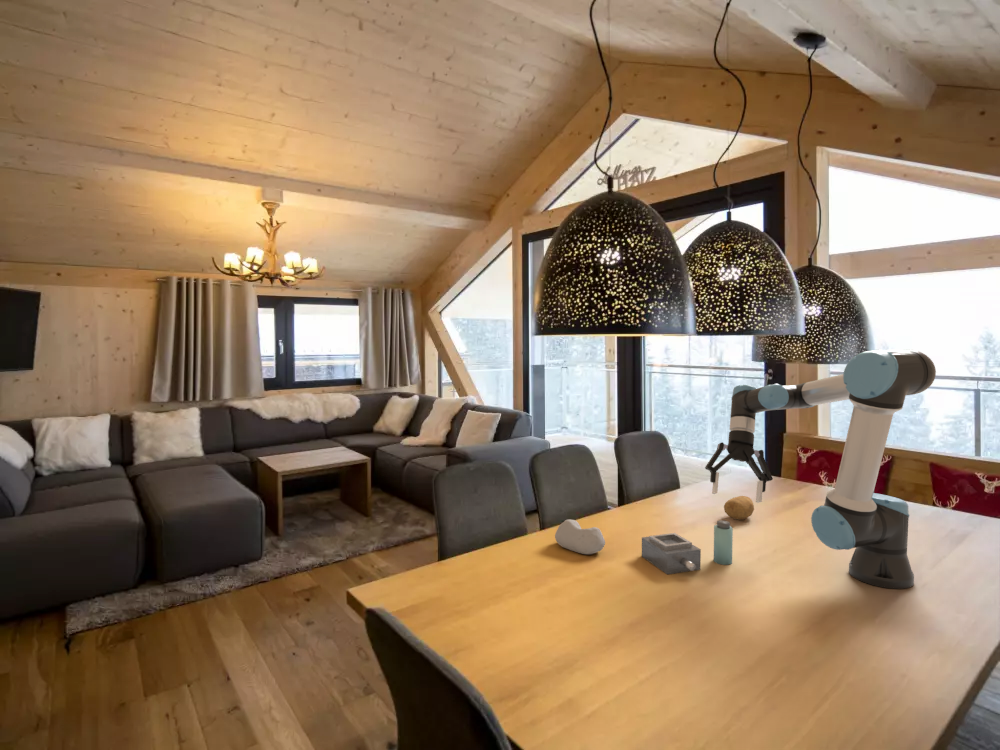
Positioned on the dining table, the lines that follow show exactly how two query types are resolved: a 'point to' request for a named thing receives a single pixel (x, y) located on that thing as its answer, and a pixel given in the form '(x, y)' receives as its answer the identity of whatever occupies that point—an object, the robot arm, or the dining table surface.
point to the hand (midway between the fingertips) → (736, 497)
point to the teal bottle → (723, 543)
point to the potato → (739, 507)
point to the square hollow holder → (671, 553)
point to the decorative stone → (579, 537)
